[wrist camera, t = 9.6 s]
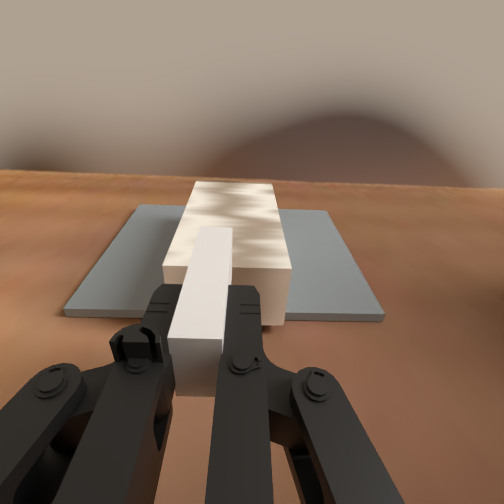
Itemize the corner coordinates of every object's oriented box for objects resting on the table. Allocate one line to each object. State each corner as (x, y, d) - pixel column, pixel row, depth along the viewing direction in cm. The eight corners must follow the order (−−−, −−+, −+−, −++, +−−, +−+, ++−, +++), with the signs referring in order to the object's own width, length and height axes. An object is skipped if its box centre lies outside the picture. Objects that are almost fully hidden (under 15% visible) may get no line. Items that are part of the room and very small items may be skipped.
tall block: (283, 325, 21) (267, 223, 35) (292, 268, 18) (271, 182, 32) (170, 323, 21) (199, 221, 34) (162, 265, 18) (197, 179, 31)
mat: (324, 216, 39) (326, 210, 39) (382, 321, 23) (385, 314, 23) (140, 210, 38) (140, 204, 37) (66, 316, 22) (62, 308, 21)
